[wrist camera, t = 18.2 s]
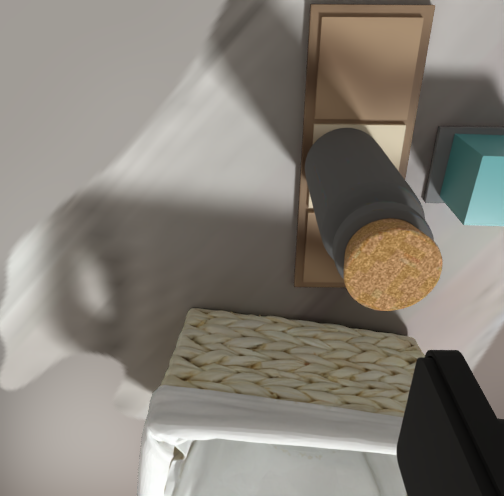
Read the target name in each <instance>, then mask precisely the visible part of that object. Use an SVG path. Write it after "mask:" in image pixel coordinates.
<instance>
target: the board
mask: <svg viewBox="0 0 504 496" xmlns="http://www.w3.org/2000/svg"><path fill="white" fill-rule="evenodd" d="M434 10H435V5H369V4H311V5H310V22H309V39H308V55H307V72H306V89H305V106H304V123H303V140H302V157H301V174H300V191H299V208H298V225H297V242H296V259H295V276H294V287H346V286H345V283H344V279H343V278H342V277H341V275H340V274H339V272H338V270H337V268H336V265H335V262H334V260H333V259H332V258H331V256H330V255H329V254H328V253H327V251H326V249H325V247H324V245H323V242H322V239H321V235H320V232H319V228H318V225H317V221H316V217H315V213H314V209H313V205H312V201H311V197H310V193H309V189H308V185H307V181H306V175H305V161H306V157H307V154H308V152H309V150H310V148H311V147H312V145H313V144H314V143H315V142H316V140H317V139H319V138H320V137H321V136H323V135H324V134H326V133H328V132H330V131H332V130H335V129H339V128H354V129H359V130H361V131H364V132H365V133H367V134H369V135H370V136H371V137H372V138H373V139H374V140H375V141H376V142H377V143H378V144H379V146H380V147H381V148H382V150H383V151H384V152H385V154H386V155H387V156H388V158H389V159H390V160H391V162H392V163H393V164H394V166H395V167H396V168H397V170H398V171H399V173H400V174H401V175H402V177H403V178H404V179H405V177H406V171H407V165H408V160H409V154H410V148H411V142H412V137H413V131H414V125H415V119H416V114H417V108H418V102H419V96H420V91H421V85H422V79H423V73H424V68H425V62H426V56H427V50H428V45H429V39H430V33H431V27H432V22H433V16H434Z"/></svg>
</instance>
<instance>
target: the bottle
mask: <svg viewBox="0 0 504 496" xmlns="http://www.w3.org/2000/svg"><path fill="white" fill-rule="evenodd" d="M305 175H306V181H307V185H308V189H309V193H310V197H311V201H312V205H313V209H314V213H315V217H316V221H317V225H318V228H319V232H320V235H321V239H322V242H323V245H324V247H325V249H326V251H327V253H328V254H329V255H330V256H331V258H332V259H333V260H334V262H335V265H336V268H337V270H338V272H339V274H340V275H341V277H342V278H343V279H344V283H345V286H346V288H347V290H348V292H349V294H350V295H351V296H352V297H353V298H354V299H355V300H356V301H357V302H358V303H360V304H361V305H363V306H365V307H368V308H371V309H374V310H380V311H392V310H398V309H403V308H406V307H409V306H411V305H413V304H415V303H417V302H419V301H420V300H422V299H423V298H424V297H426V296H427V295H428V294H429V293H430V292H431V291H432V290H433V288H434V287H435V285H436V284H437V282H438V280H439V278H440V274H441V271H442V256H441V253H440V250H439V248H438V246H437V245H436V243H435V242H434V239H433V235H432V232H431V229H430V227H429V226H428V224H427V223H426V221H425V216H424V211H423V208H422V205H421V203H420V201H419V199H418V198H417V196H416V195H415V193H414V192H413V191H412V189H411V188H410V186H409V185H408V184H407V182H406V181H405V179H404V178H403V177H402V175H401V174H400V173H399V171H398V170H397V168H396V167H395V166H394V164H393V163H392V162H391V160H390V159H389V158H388V156H387V155H386V154H385V152H384V151H383V150H382V148H381V147H380V146H379V144H378V143H377V142H376V141H375V140H374V139H373V138H372V137H371V136H370V135H369V134H367V133H365V132H364V131H361V130H359V129H354V128H339V129H335V130H332V131H330V132H328V133H326V134H324V135H323V136H321V137H320V138H319V139H317V140H316V142H315V143H314V144H313V145H312V147H311V148H310V150H309V152H308V154H307V157H306V161H305Z"/></svg>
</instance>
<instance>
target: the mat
mask: <svg viewBox="0 0 504 496" xmlns="http://www.w3.org/2000/svg"><path fill="white" fill-rule="evenodd" d="M455 134H480V135H504V127H468V126H439V127H438V132H437V137H436V142H435V147H434V152H433V157H432V162H431V167H430V172H429V177H428V182H427V187H426V192H425V197H424V202H425V203H445V202H444V201H443V200H442V199H441V197H440V192H441V188H442V184H443V180H444V176H445V172H446V168H447V164H448V160H449V156H450V151H451V147H452V143H453V139H454V135H455Z"/></svg>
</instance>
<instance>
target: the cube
mask: <svg viewBox="0 0 504 496" xmlns="http://www.w3.org/2000/svg"><path fill="white" fill-rule="evenodd" d="M440 197H441V199H442V200H443V201H444V202H445V203H446V205H447V206H448V207H449V208H450V209H451V211H452V212H453V213H454V214H455V215H456V216H457V218H458V219H459V220H460V221H461V222H462V224H463V225H481V226H504V135H480V134H455V135H454V139H453V143H452V147H451V151H450V156H449V160H448V164H447V168H446V172H445V176H444V180H443V184H442V188H441V192H440Z"/></svg>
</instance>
